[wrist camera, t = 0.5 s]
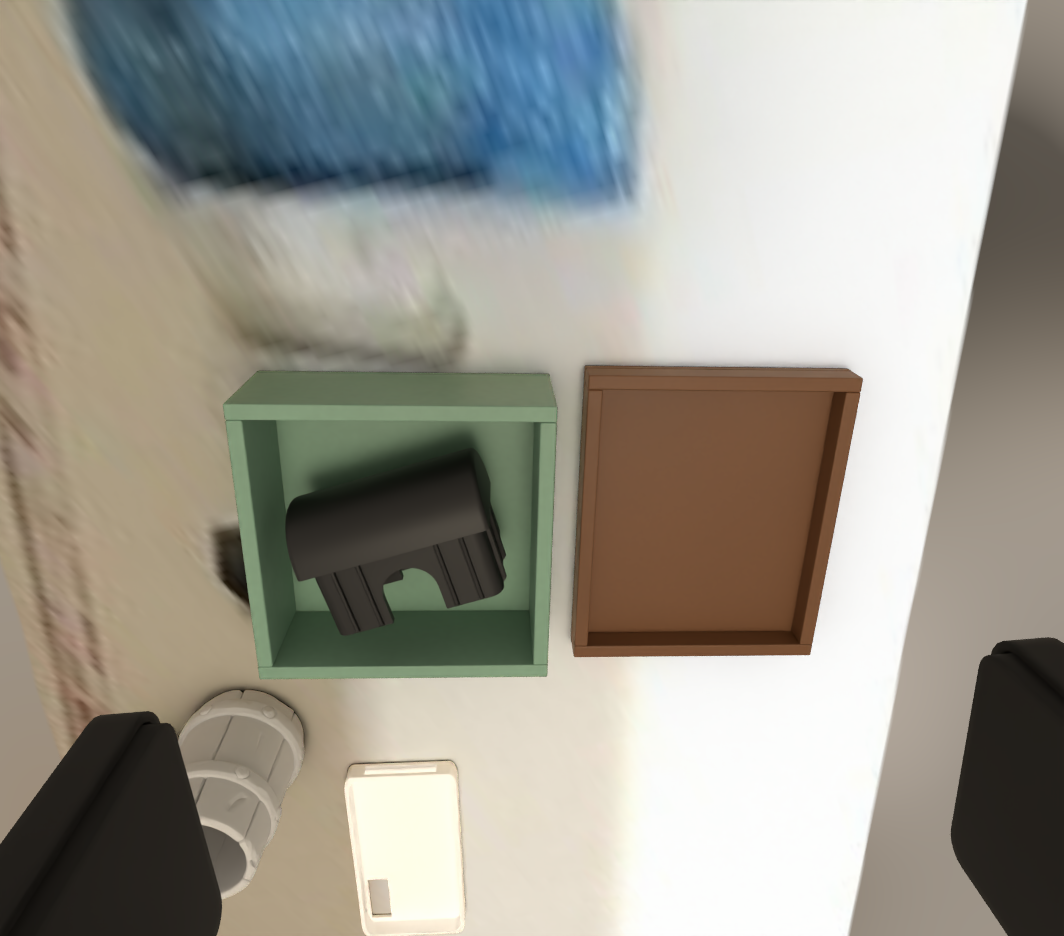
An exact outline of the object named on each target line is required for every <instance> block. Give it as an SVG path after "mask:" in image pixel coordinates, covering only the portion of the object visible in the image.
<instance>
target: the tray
mask: <svg viewBox="0 0 1064 936" xmlns="http://www.w3.org/2000/svg"><path fill="white" fill-rule="evenodd" d="M862 382H863V378H861V377H860V376H858V375H857V374H855V373H853V372H852V371H851V370H849V369H843V368H754V367H665V366H585V371H584V391H583V410H582V430H581V449H580V469H579V489H578V508H577V528H576V547H575V567H574V587H573V606H572V626H571V642H572V648H573V654H574V657H630V656H750V655H810V652H811V647H812V642H813V637H814V631H815V626H816V621H817V616H818V611H819V605H820V600H821V595H822V590H823V585H824V579H825V574H826V569H827V564H828V559H829V553H830V548H831V543H832V538H833V533H834V528H835V522H836V517H837V512H838V507H839V502H840V496H841V491H842V486H843V481H844V476H845V470H846V465H847V460H848V455H849V450H850V444H851V439H852V434H853V429H854V424H855V418H856V413H857V408H858V403H859V398H860V391H861V387H862Z"/></svg>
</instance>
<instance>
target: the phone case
mask: <svg viewBox="0 0 1064 936" xmlns="http://www.w3.org/2000/svg"><path fill="white" fill-rule="evenodd" d="M344 791H345V799H346V807H347V814H348V822H349V830H350V837H351V845H352V853H353V861H354V868H355V876H356V884H357V891H358V899H359V907H360V914H361V922H362V929H363V931H364V933H365V934H366V935H367V936H406V935H426V934H447V933H460V932H461V931H462V930H463V928H464V925H465V896H464V878H463V861H462V843H461V825H460V808H459V790H458V773H457V768H456V766H455V764H454V763H453V762H451V761H432V762H407V763H382V764H357V765H352V766H350V768H349V769H348V773H347V777H346V781H345V786H344ZM376 879H388V885H389V894H390V903H391V913H392V914H387V915H373V914H372V908H371V900H370V891H369V883H368V880H376Z"/></svg>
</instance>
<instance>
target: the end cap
mask: <svg viewBox="0 0 1064 936" xmlns="http://www.w3.org/2000/svg"><path fill="white" fill-rule="evenodd" d="M490 498H491V482H490V479H489V476H488V473H487V471H486V468H485V465H484V463H483V461H482V459H481V457H480V455H479V453H478V452H477V451H476V450H475V449H473V448H467V449H464V450H460V451H457V452H453V453H450V454H446V455H443V456H439V457H435V458H432V459H428V460H425V461H421V462H418V463H414V464H411V465H407V466H403V467H400V468H396V469H393V470H389V471H386V472H382V473H379V474H375V475H371V476H368V477H364V478H361V479H357V480H354V481H350V482H347V483H343V484H340V485H336V486H332V487H329V488H325V489H322V490H318V491H315V492H311V493H308V494H304V495H300V496H298V497H296V498H294V499H293V500H292V501H291V502H290V504H289V507H288V509H287V513H286V519H285V533H286V543H287V549H288V553H289V558H290V561H291V564H292V568H293V571H294V573H295V576H296V578H297V580H298V581H299V582H300V581H305V580H308V579H312V578H315V579H316V582H317V584H318V586H319V588H320V590H321V593H322V595H323V597H324V599H325V602H326V604H327V606H328V608H329V610H330V613H331V615H332V617H333V619H334V621H335V624H336V626H337V628H338V630H339V632H340V634H341V635H343V636H347V635H352V634H355V633H359V632H363V631H367V630H370V629H374V628H378V627H381V626H385V625H389V624H393V623H394V619H395V618H394V616H393V613H392V611H391V608H390V606H389V604H388V601H387V599H386V596H385V593H384V585H385V584H389V583H392V582H396V581H400V580H403V576H404V575H403V573H402V571H403V570H407V569H411V568H415V569H420V570H423V571H425V572H427V573H428V574H430V575H431V576H432V577H433V578H434V579H435V581H436V582H437V584H438V586H439V589H440V592H441V594H442V597H443V599H444V602H445V605H446V607H447V609H449V608H452V607H456V606H460V605H463V604H467V603H471V602H475V601H478V600H482V599H486V598H489V597H493V596H496V595H498V594H499V593H501V592H502V590H503V589H504V581H505V579H506V577H507V575H506V572H505V569H504V566H503V560H504V558H505V557H506V553H505V550H504V547H503V544H502V541H501V538H500V529H499V526H498V523H497V520H496V517H495V514H494V511H493V508H492V505H491V502H490Z"/></svg>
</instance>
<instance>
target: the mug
mask: <svg viewBox="0 0 1064 936" xmlns="http://www.w3.org/2000/svg"><path fill="white" fill-rule="evenodd" d="M293 713H294V711H293V710H292V709H291V708H289V707H287V706H286V705H285V704H283V703H282V702H280V701H278V700H277V699H276V698H275V697H273V696H271V695H269V694H266V693H263V692H260V691H255V690H245V691H244V693H242V692H241V691H240V690H233V691H228V692H224V693H223V694H220V695H218V696H216V697H215V698H213V699H211V700H210V701H208V702H207V703H205V704H204V705H203V706H202V707H201V708H200V709H199V710H198V711H197V712H195V713H194V714H193V715H192V716H191V717H190V719H189V720H188V721H187V723H186V724H185V726H184V728H183V730H182V732H181V734H180V736H179V739H178V743H179V747H180V750H181V754H182V757H183V761H184V765H185V768H186V772H187V775H188V779H189V782H190V786H191V789H192V793H193V797H194V800H195V804H196V807H197V811H198V814H199V818H200V821H201V825H202V829H203V832H204V836H205V839H206V843H207V846H208V850H209V853H210V857H211V861H212V864H213V868H214V871H215V875H216V878H217V882H218V885H219V889H220V893H221V898H222V899H225V898H228V897H230V896H232V895H234V894H236V893H238V892H240V891H242V890H243V889H244V888H245V887H247V885H248V884H249V883H250V881H251V880H252V878H253V877H254V874H255V872H256V869H257V867H258V864H259V862H260V859H261V856H262V854H263V851H264V848H265V847H266V846H267V845H268V844H269V843H270V841H271V840H272V838H273V837H274V834H275V832H276V829H277V826H278V822H279V819H280V817H281V813H282V808H281V803H282V801H283V798H284V795H285V793H286V790H287V788H288V787H289V786H290V785H291V784H292V783H293V782H294V780H295V779H296V777H297V775H298V773H299V771H300V769H301V767H302V762H303V758H304V743H303V739H304V733H303V728H302V725H301V722H300V720H299V718H298V717H297V715H296V714H295V713H294V714H293Z"/></svg>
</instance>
